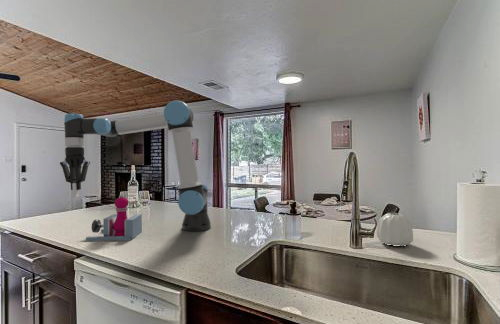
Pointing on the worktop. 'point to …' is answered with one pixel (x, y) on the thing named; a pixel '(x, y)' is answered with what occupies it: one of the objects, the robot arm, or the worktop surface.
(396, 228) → the white pumpkin
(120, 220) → the pepper mill
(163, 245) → the worktop surface
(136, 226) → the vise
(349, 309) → the worktop surface
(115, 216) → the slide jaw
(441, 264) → the worktop surface
